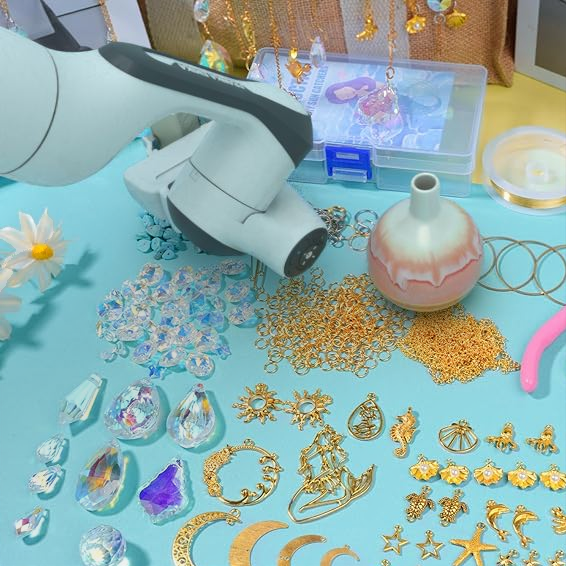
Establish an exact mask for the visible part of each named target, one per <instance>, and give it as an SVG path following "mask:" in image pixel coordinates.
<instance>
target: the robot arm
mask: <svg viewBox="0 0 566 566" xmlns="http://www.w3.org/2000/svg"><path fill="white" fill-rule="evenodd" d="M179 112H185V113H189V114H193V115H197V116H198V119H199V122H200V125H201V127H200V128H198V129H196V130H195V131H193V132H191V133H189V134H187V135H186V136H184V137H182V138H180V139H179V140H177V141H175V142H173V143H171V144H170V145H168V146H166V147H164V148H163V149H161V148H160V145H159V144H158V139H157V138H156V137H155V136H154V135H153V133H152V132H150V133H148V134H145V135H144V136H142V137H140V138H141V142H142V145H143V147H144V148H145V150H146V153H145V154H146V157H145V158H143V159H142V160H139V161H138V162H136V163H135V164H132V165H131V166H128V167H127V168H126V169H124V171H123V176H122V177H123V178H122V179H123V183H124V185H125V187H126V190H127V192H128V193H129V195H130V197H131V198H132V199H133V201H135V202H136V204H138V205H139V206H140V207H142V208H143V209H144V211H146V212H147V213H149V214H150V215H151V216H153V217H154V218H156V219H159V220H161V221H162V220H163V221H168V222H169V225H170V226H171V228H172V229H173V230H174V232H176V233H177V234H182V235H183V236H185V238H187V239H188V241H190V242H191V243H192V244H193V245H195V246H196V247H197V248H198V249H200V250H201V251H203V252H205V253H207V254H209V255H212V256H215V257H222V258H224V257H229V258H230V257H242V256H243V257H244V256H246V255H250V256H252V257H253V258H255V259H257V260H258V261H259V262H261V263H262V264H264V265H265V266H266V267H268V268H269V269H271V270H272V271H273V272H275V273H276V274H278V276H281V277H282V278H286V279H293V278H296V277H298V276H299V277H300V275H302V274H304V273H305V272H307V271H308V270H309V269H311V267H313V265H314V264H315V263H316V261H317V260H318V259H319V258H320V257H321V255H322V254H323V251H324V250H325V248H326V247H327V244H328V241H329V238H330V237H329V236H330V232H329V229H328V226H327V225H326V223H325V221H324V220H323V219H322V217H321V216H320V215H319V213H318V212H317V211H316V210H315V208H314V207H313V206H312V205H311V204H310V203H309V202H308V201H307V199H305V198H304V196H303V195H301V194H300V193H299V192H298V191H297V190H296V189H295V188H294V187H293V186H292V185H291V184H289V183H287V181H288V179H289V177H290V176H291V175H292V173H293V172H294V170H297V168H298V167H299V166H300V164H301V163H302V162H303V161H304V160H305V159H306V157H307V156H308V155H309V154H310V152H311V151H313V149H314V127H313V123H312V122H313V121H312V115H311V114H310V112H309V111H308V110H307V109H306V108H305V106H304V105H303V104H302V103H301V102H300V101H299V100H298V99H297V98H296V97H295V96H293V95H292V94H291V93H289V92H287V91H286V90H284V89H282V88H281V87H278V86H275V85H273V84H270V83H266V82H262V81H259V80H255V79H250V78H246V77H245V78H244V77H241V76H240V77H239V76H235V75H232V74H229V73H226V72H223V71H220V70H218V69H215V68H212V67H208V66H205V65H202V64H200V63H196V62H194V61H191V60H187V59H185V58H182V57H179V56H176V55H173V54H171V53H166V52H163V51H160V50H157V49H153V48H150V47H146V46H143V45H139V44H135V43H130V42H124V41H115V40H112V41H110V42H107V43H106V44H104V45H102V46H100V47H98V48H97V49H92V50H85V51H60V50H55V49H52V48H49V47H47V46H44V45H42V44H40V43H38V42H36V41H35V40H32V39H30V38H28V37H26V36H24V35H22V34H19V33H17V32H14V31H13V30H10V29H8V28H6V27H4V26H1V25H0V177H3V178H6V179H9V180H12V181H15V182H18V183H23V184H26V185H31V186H36V187H44V188H62V187H67V186H71V185H75V184H78V183H80V182H82V181H85V180H87V179H88V178H90V177H92V176H94V175H95V174H97V173H98V172H100V171H102V170H103V169H105V167H107V166H108V165H109V164H110V163H111V162H112V161H114V159H115V158H116V157H117V156H118V155H119V154H120V153H121V152H122V151H123V150H125V148H126V147H128V145H130V143H132V142H133V141H134V140H135V139H136V138H138V136H140V135H141V134H142V133H143V132H145V131H146V130H148V129H149V128H150V126H151V125H153V124H154V123H156V122H157V121H159V120H161V119H162V118H164V117H166V116H168V115H171V114H174V113H179ZM159 149H161V150H159Z"/></svg>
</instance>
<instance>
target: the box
mask: <svg viewBox="0 0 566 566" xmlns="http://www.w3.org/2000/svg"><path fill="white" fill-rule="evenodd" d="M200 127H202V126H201V125H200V122H199V119H198V116H197V115H193V114H189V113H185V112H179V113H174V114H171V115H168V116H166V117H164V118H162V119H161V120H159V121H157V122H156V123H154V124H153V125H151V126H150V127H149V128H150V130H151V133H152V134H153V135H154V136H155V137H156V138H157V139H158V144H159V145H160V148H161V149H163V148H164V147H166V146H168V145H170V144H171V143H173V142H175V141H177V140H179V139H180V138H182V137H184V136H186V135H187V134H189V133H191V132H193V131H195V130H196V129H198V128H200ZM161 149H159V150H161ZM159 150H158V151H159Z"/></svg>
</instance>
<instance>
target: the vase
mask: <svg viewBox="0 0 566 566" xmlns="http://www.w3.org/2000/svg"><path fill="white" fill-rule="evenodd" d="M409 189H410V191H409V192H410V194H409V197H406V198H404V199H400V200H398V201H397V202H395V203H394V204H393V205H391V206H389V207H388V208H387V209H386V210H385V211H384V212H383V213H381V215H380V216H379V217H378V218H377V220H376V222H375V223H374V224H373V226H372V229H371V231H370V234H369V236H368V240H367V244H366V249H365V250H366V251H365V253H366V255H365V262H366V267H367V272H368V275H369V277H370V279H371V282H372V284H373V285H374V287H375V288H376V290H377V291H378V292H379V293H380V295H382V296H383V297H384V298H385V299H386V300H388V302H390V303H392V304H393V305H396V306H397V307H399V308H402V309H404V310H407V311H412V312H417V313H418V312H419V313H431V312H437V311H443V310H445V309H447V308H451V307H452V306H455V305H456V304H457V303H460V302H461V301H463V300H464V298H466V297H468V295H470V293H471V292H472V291H473V290H474V289H475V287H476V285H477V284H478V282H479V280H480V278H481V276H482V272H483V269H484V264H485V246H484V241H483V236H482V233H481V231H480V229H479V227H478V225H477V223H476V221H475V220H474V219H473V216H471V215H470V213H469V212H468V211H467V210H465V209H464V208H463V207H462V206H461V205H459V204H457V202H455V201H453V200H450V199H449V198H446V197H442V196H441V182H440V179H439V177H438V176H437V175H435V174H434V173H431V172H427V171H426V172H425V171H424V172H420V173H417V174H415V175H414V176H413V177H412V178H411V180H410V187H409Z"/></svg>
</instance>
